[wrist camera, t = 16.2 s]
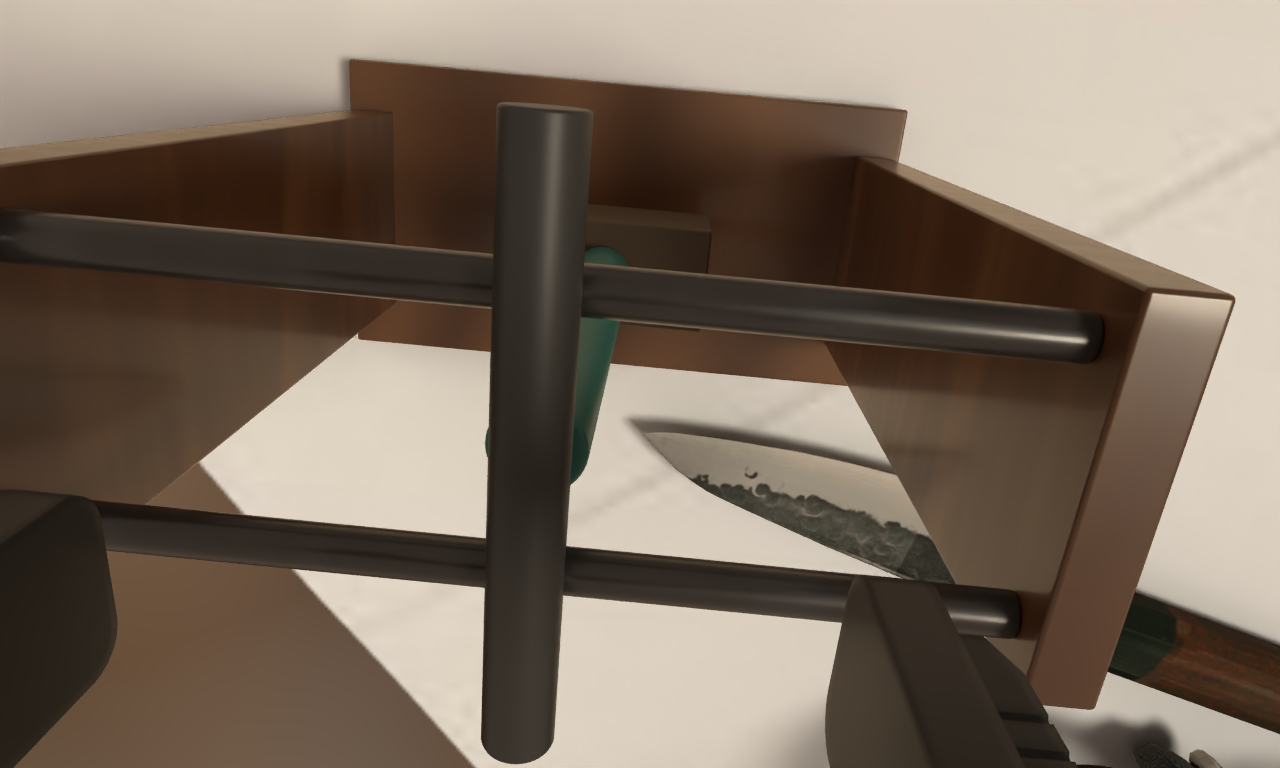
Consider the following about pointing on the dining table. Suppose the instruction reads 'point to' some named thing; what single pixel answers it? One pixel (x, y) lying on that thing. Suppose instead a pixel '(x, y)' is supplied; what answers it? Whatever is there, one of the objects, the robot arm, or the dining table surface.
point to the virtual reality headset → (1167, 759)
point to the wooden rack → (715, 303)
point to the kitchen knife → (900, 544)
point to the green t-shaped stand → (548, 393)
